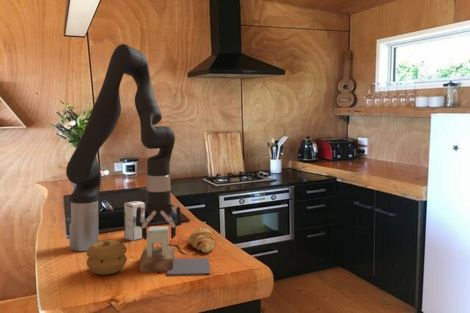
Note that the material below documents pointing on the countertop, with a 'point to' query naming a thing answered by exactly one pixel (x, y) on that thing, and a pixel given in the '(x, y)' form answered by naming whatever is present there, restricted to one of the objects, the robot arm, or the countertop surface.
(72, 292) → the countertop surface
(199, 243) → the croissant
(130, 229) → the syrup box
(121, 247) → the pot
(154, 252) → the tan square slab
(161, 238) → the notched cream block
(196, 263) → the felt pad
